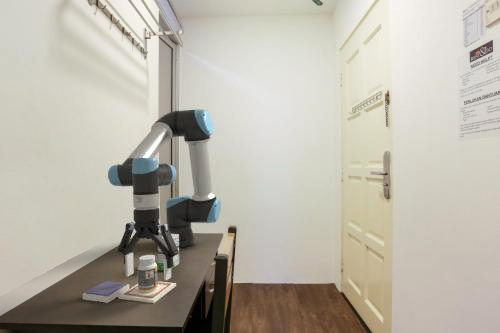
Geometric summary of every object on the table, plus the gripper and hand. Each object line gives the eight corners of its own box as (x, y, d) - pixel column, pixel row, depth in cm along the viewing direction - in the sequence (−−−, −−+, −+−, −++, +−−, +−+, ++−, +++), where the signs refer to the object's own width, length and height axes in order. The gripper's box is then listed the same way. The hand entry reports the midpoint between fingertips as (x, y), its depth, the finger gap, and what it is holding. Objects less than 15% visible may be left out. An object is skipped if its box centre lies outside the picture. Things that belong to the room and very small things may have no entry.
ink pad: (106, 286, 94) (105, 280, 94) (129, 289, 91) (129, 283, 91) (82, 299, 85) (82, 292, 85) (107, 302, 82) (107, 295, 82)
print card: (144, 282, 97) (144, 279, 97) (176, 285, 93) (176, 282, 93) (118, 298, 85) (118, 295, 85) (153, 303, 82) (153, 299, 82)
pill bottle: (160, 289, 88) (159, 257, 88) (141, 295, 85) (140, 261, 85) (154, 283, 93) (153, 253, 93) (135, 288, 90) (134, 256, 89)
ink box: (169, 271, 106) (168, 238, 106) (157, 270, 107) (156, 238, 107) (180, 263, 115) (179, 233, 115) (168, 262, 116) (167, 232, 116)
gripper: (104, 208, 89) (105, 277, 89) (176, 210, 82) (177, 285, 82) (121, 205, 96) (123, 268, 96) (188, 206, 89) (190, 275, 89)
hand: (148, 276), depth 89 cm, fingers open, 13 cm apart
